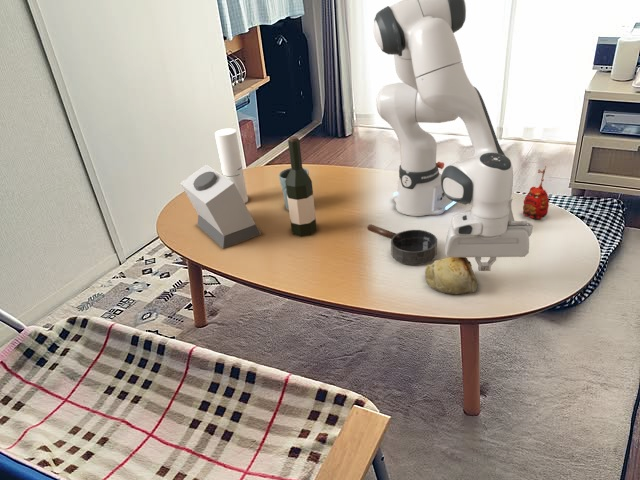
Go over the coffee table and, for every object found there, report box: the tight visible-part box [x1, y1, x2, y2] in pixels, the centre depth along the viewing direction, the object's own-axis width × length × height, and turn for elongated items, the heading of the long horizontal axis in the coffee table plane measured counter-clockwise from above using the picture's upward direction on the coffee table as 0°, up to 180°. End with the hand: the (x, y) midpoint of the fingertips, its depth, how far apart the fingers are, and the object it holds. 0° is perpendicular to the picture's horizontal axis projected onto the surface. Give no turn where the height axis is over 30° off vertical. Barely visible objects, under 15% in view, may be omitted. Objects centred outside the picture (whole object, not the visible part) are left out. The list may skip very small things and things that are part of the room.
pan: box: [390, 229, 438, 266], centre depth 160 cm, size 13×13×4 cm
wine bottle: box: [285, 135, 318, 238], centre depth 171 cm, size 8×8×30 cm
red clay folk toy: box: [522, 165, 550, 221], centre depth 170 cm, size 8×7×15 cm
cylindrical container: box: [214, 127, 249, 204], centre depth 194 cm, size 7×7×25 cm
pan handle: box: [366, 223, 400, 241], centre depth 167 cm, size 12×2×2 cm, turn 44°
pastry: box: [424, 256, 478, 296], centre depth 146 cm, size 14×12×8 cm
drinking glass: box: [278, 167, 310, 211], centre depth 191 cm, size 10×10×12 cm
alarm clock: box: [179, 163, 262, 249], centre depth 178 cm, size 20×16×20 cm
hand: (484, 269), depth 145 cm, fingers closed
